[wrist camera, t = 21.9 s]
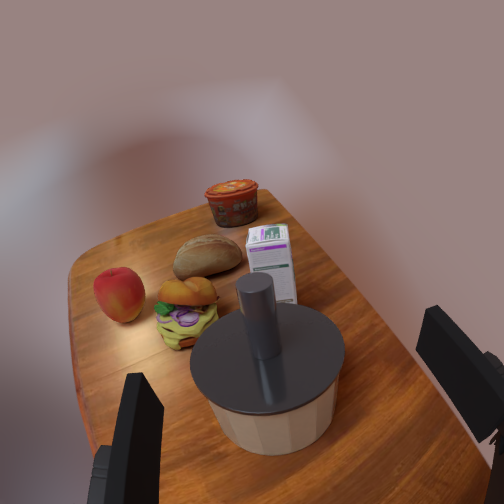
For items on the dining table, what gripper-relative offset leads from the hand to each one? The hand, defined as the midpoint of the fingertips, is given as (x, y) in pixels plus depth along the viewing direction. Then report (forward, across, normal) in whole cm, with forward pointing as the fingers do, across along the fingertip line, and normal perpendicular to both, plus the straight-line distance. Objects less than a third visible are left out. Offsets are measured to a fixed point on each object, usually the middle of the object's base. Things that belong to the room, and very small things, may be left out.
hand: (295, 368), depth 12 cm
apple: (+35, -24, -20) cm, 47 cm away
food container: (+77, 0, -20) cm, 79 cm away
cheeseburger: (+29, -11, -20) cm, 37 cm away
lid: (+11, -1, -10) cm, 15 cm away
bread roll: (+47, -8, -20) cm, 51 cm away
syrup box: (+28, +3, -20) cm, 34 cm away
